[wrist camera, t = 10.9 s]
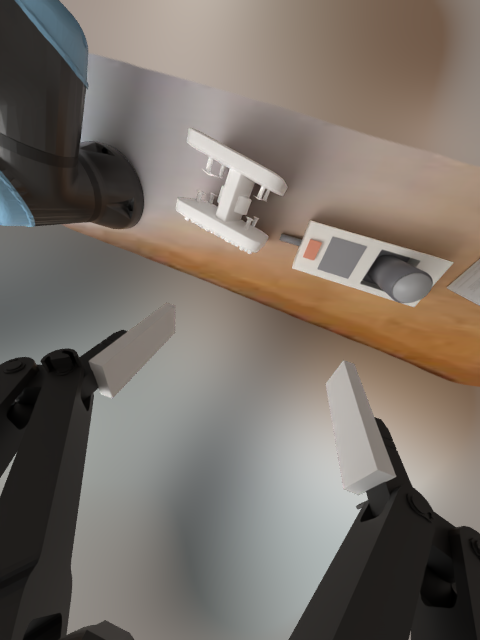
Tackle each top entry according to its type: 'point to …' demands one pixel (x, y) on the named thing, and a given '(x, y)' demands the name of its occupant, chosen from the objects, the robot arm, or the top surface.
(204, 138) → the cable organizer
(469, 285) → the supplement box
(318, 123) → the top surface
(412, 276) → the plug
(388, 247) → the power strip
